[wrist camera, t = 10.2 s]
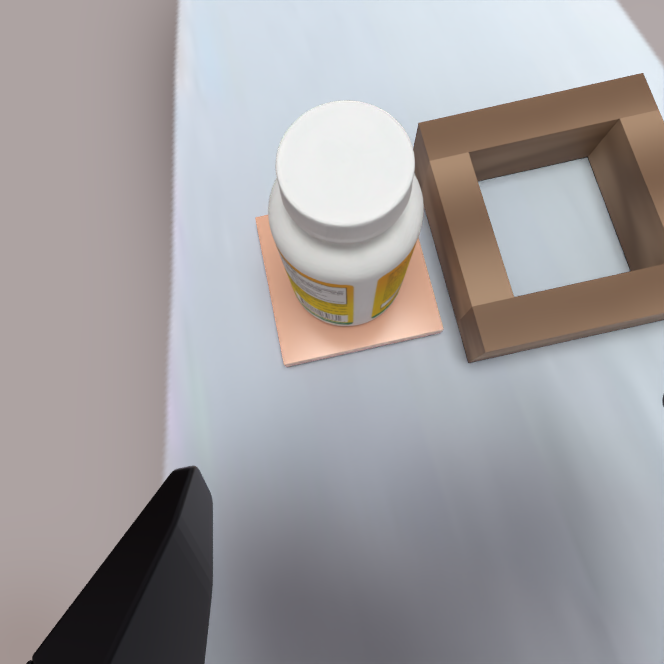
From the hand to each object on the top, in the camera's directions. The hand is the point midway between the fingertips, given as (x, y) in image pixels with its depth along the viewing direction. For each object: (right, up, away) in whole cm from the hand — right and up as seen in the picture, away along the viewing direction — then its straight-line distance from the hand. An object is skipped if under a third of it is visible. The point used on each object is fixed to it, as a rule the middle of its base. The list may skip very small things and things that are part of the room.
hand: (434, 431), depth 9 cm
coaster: (-1, +5, +15) cm, 15 cm away
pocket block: (+9, +7, +15) cm, 18 cm away
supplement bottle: (-1, +5, +14) cm, 15 cm away
